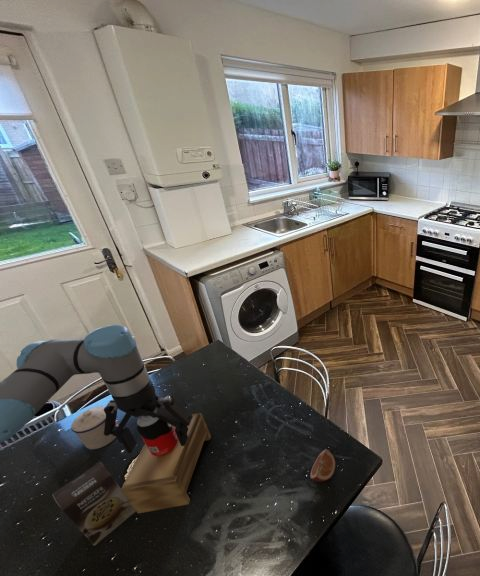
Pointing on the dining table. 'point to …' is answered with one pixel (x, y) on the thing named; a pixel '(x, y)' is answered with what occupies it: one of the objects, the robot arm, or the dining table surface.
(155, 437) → the beverage can
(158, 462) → the tan boxy piece
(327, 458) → the fruit slice
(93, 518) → the brown cardboard box
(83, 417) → the white round tub
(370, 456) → the dining table surface
